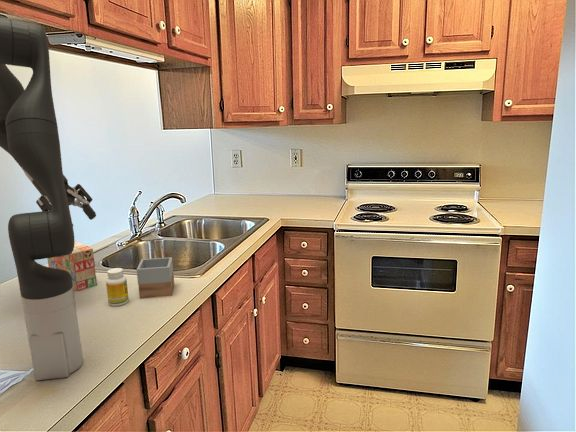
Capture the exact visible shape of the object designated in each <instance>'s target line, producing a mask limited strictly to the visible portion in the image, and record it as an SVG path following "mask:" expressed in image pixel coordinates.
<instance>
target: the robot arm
mask: <svg viewBox="0 0 576 432" xmlns="http://www.w3.org/2000/svg"><path fill="white" fill-rule="evenodd" d="M47 36H48V35H47V32H46V30H45V29H44V27H43V26H42V25H39V24H38V23H34V22H29V21H23V20H18V19H14V18H13V19H12V18H7V17H0V148H1V149H3V150H4V151H5V152H7V153H8V154H9V155H10V156H11V157H12V158H13V159H14V161H15V162H16V163H17V164H18V165H19V167H20V169H21V170H22V172H23V173H24V174H25V176H26V177H27V179H28V180H29V181H30V182H31V184H32V185H33V186H34V188H35V189H36V190H37V191H38V193H39V195H41V196H40V197H38V199H37V200H36V201H35V203H36V205H37V206H38V207H39V209H40V210H41V211H35V212H33V211H31V212H23V213H22V212H21V213H16V214H14V215H12V216H11V217H10V218H9V219H8V224H7V225H8V226H7V233H8V238H9V244H10V247H11V251H12V256H13V260H14V263H15V264H14V265H15V270H16V273H17V280H18V286H19V292H20V298H21V304H22V309H23V310H22V311H23V315H24V321H25V328H26V333H27V340H28V344H29V351H30V356H31V361H32V368H33V373H34V379H35V381H42V380H43V381H44V380H52V379H54V380H55V379H60V378H68V377H69V376H70V375H71V374H72V373H74V372H76V370H78V369H80V367H82V365H83V363H84V355H83V354H84V353H83V348H82V341H81V335H80V328H79V326H80V325H79V320H78V313H77V306H76V301H75V299H76V298H75V291H74V289H73V282H72V277H71V274H70V273H69V272H67V271H65V270H62V269H55V268H50V267H49V266H45V265H43V264H40V263H38V262H37V261H36V260H44V259H47V258H52V257H59V256H65V255H69V254H71V253H72V252H73V249H74V243H75V241H76V240H75V232H74V224H73V221H72V216H71V215H72V214H71V211H70V206H73V207H78V208H80V209H82V211H83V212H84V214H85V216H86V217H87V218H88V219H89V220H91V221H92V220H93V219H94V220H95V218H96V217H97V213H96V211H94V209H93V207H92V206H91V205H90V204H91V202H92V201H93V198H92V196H90V194H89V193H88V191H86V189H84V187H83V186H82V184H80V183H77V184H76V185H75V186H73V187H72V186H70V185H69V182H68V178H67V177H66V176H65V175H64V172H63V161H62V152H61V151H62V150H61V143H60V142H61V141H60V136H59V127H58V122H57V121H58V120H57V116H56V110H55V104H54V98H53V91H52V79H51V63H50V62H51V61H50V51H49V49H50V48H49V40H48V37H47ZM7 65H8V66H15V67H21V68H23V67H24V68H30V69H31V70H32V75H31V78H30V80H29V82H28V84H27V85H26V87H25V88H24V86H23V85H22V82H21V81H20V80H19V79H18V77H16V75H15V74H14V73H13V72H12V71H11V70H10V68H8V66H7Z"/></svg>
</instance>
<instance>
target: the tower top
mask: <svg viewBox="0 0 576 432" xmlns="http://www.w3.org/2000/svg"><path fill="white" fill-rule="evenodd" d="M173 273H174V264H173V257H171V256H170V257H169V256H168V257H155V258H142V259H141V260H140V262H139V264H138V266H137V268H136V277H137V278H136V279H137V285H138V284H151V283H164V282H171V278H172V274H173Z"/></svg>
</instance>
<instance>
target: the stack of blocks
mask: <svg viewBox="0 0 576 432" xmlns="http://www.w3.org/2000/svg"><path fill="white" fill-rule="evenodd" d="M74 241H75V243H74V249H73V252H72V253H71V254H69V255H65V256H59V257H52V258H46V259H47V264H48V266H47V267H50V268H55V269H62V270H65V271H67V272H69V273H70V274H71V277H72V282H73V290H75V291H76V292H79V291H82V290H86V289H89V288H92V287H95V286H98V282H97V273H96V268H95V267H96V264H95V254H94V248H93V247H90V246H89V245H87V244H84V243H81V242H79V241H76V240H74Z"/></svg>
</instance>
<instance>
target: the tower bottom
mask: <svg viewBox="0 0 576 432" xmlns="http://www.w3.org/2000/svg"><path fill="white" fill-rule="evenodd" d="M137 285H138V293H139V294H138V295H139V299H151V298H161V297H162V298H163V297H173V295H174V289H175V277H174V272H173V274H172V278H171V282H164V283H151V284H138V283H137Z"/></svg>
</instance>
